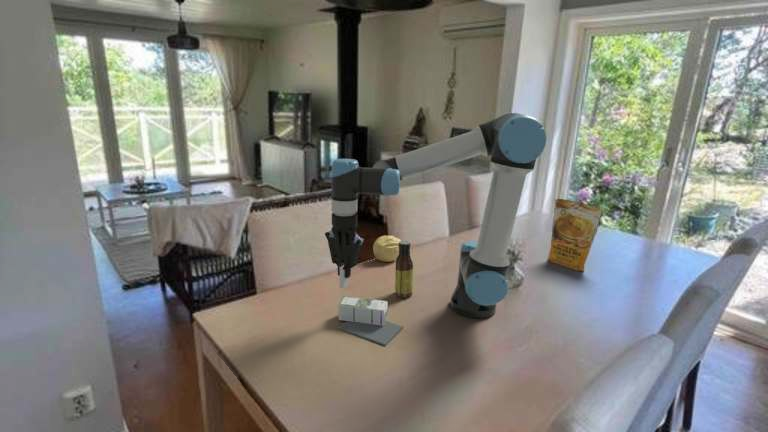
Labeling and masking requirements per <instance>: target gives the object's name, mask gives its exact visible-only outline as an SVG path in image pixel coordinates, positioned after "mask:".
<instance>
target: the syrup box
mask: <svg viewBox="0 0 768 432" xmlns="http://www.w3.org/2000/svg"><path fill="white" fill-rule="evenodd" d="M388 305H389V304H388V301H387V300H379V299H374V298H373V299H371V298H364V297H363V298H362V297H356V296H346V295H344V296H343V297H342V299H341V301H339V304H338V320H339V321H345V322H347V321H351V322H359V323H366V324H373V325H381V326H384V323H385V321H387V317H388V311H389V310H388V309H389V308H388V307H389V306H388Z"/></svg>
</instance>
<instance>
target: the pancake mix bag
mask: <svg viewBox="0 0 768 432" xmlns="http://www.w3.org/2000/svg"><path fill="white" fill-rule="evenodd" d="M600 208H601V207H600V206H598V205H592V204H588V203H583V202H579V201H574V200H569V199H563V198H556V199H555V200H554V209H553V211H554V212H553V220H552V228H551V239H550V250H549V253H548V256H547V260H548V261H550V263H552V264H555V265H558V266H561V267H563V268H567V269H570V270H571V271H572V270H573V271H576V272H585V264H586V261H587V260H588V257H589V254H590V250H591V249H592V247H593V244H594V240H595V236H596V235H597V231H598V228H599V226H600V225H599V224H600V221H601V219H602V216H603V209H600Z"/></svg>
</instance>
